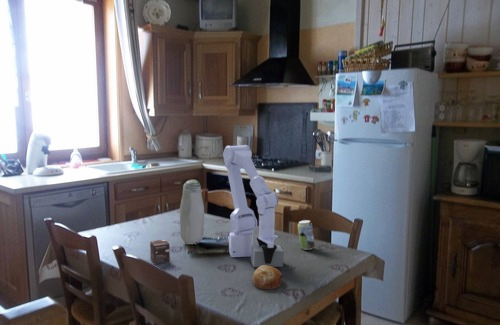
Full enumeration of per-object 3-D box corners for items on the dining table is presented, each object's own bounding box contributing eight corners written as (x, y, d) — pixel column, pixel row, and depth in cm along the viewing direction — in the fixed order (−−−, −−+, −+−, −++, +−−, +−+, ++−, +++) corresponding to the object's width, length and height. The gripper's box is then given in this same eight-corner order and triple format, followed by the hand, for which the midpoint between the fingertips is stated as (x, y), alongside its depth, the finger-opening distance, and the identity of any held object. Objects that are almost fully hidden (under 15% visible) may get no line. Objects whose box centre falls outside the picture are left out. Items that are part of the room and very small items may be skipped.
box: (154, 264, 152) (153, 246, 151) (150, 259, 158) (149, 241, 157) (170, 262, 155) (169, 243, 154) (165, 257, 160) (165, 239, 159)
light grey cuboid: (253, 267, 150) (254, 251, 149) (250, 260, 156) (251, 245, 155) (282, 266, 152) (283, 251, 151) (278, 260, 158) (279, 245, 157)
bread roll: (256, 287, 143) (246, 267, 141) (282, 274, 143) (273, 255, 142) (259, 300, 133) (249, 279, 132) (287, 287, 133) (277, 266, 132)
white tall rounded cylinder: (202, 247, 171) (202, 182, 168) (178, 247, 171) (177, 182, 168) (205, 240, 181) (205, 178, 177) (182, 239, 181) (181, 178, 177)
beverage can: (314, 251, 168) (315, 223, 166) (296, 250, 170) (297, 222, 168) (314, 246, 174) (315, 219, 173) (297, 245, 176) (298, 218, 174)
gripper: (282, 230, 145) (281, 266, 147) (272, 219, 159) (272, 252, 161) (262, 231, 144) (262, 267, 146) (255, 219, 158) (254, 253, 160)
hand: (266, 259), depth 153 cm, fingers closed on light grey cuboid, 6 cm apart
